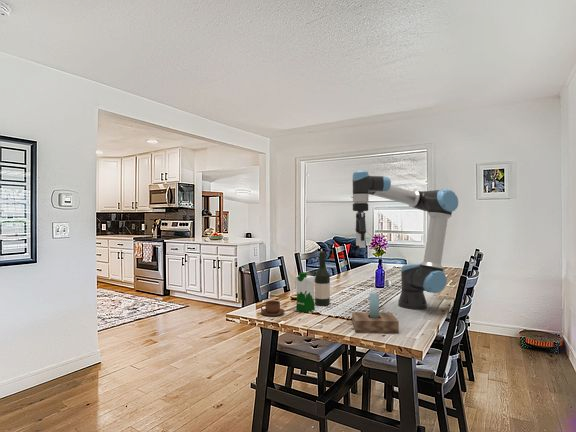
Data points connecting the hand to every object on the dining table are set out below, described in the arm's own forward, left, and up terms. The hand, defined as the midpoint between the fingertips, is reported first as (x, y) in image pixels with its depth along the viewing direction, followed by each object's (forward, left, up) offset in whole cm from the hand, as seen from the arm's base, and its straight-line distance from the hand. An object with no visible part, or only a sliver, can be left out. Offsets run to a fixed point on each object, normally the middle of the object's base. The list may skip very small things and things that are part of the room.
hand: (360, 246), depth 180 cm
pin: (-4, +16, -34) cm, 37 cm away
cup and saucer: (+44, -4, -35) cm, 56 cm away
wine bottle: (+18, -26, -35) cm, 47 cm away
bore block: (-4, +16, -35) cm, 38 cm away
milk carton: (+27, -13, -35) cm, 46 cm away
